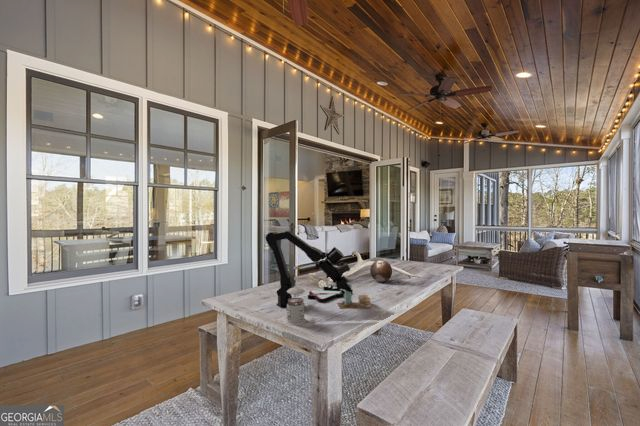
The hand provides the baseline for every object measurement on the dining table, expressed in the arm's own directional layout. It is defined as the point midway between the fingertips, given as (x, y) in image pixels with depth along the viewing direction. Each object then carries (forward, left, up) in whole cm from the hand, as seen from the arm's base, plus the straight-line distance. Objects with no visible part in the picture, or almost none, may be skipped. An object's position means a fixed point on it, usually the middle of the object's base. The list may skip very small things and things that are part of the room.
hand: (350, 290), depth 157 cm
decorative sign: (+3, +22, -9) cm, 24 cm away
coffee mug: (+29, +53, -9) cm, 61 cm away
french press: (-32, +1, -9) cm, 33 cm away
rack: (+1, -1, -9) cm, 9 cm away
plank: (-1, +1, -8) cm, 8 cm away
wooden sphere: (+54, +31, -9) cm, 63 cm away
